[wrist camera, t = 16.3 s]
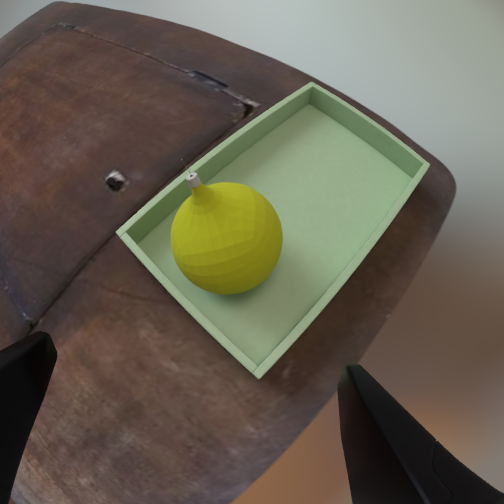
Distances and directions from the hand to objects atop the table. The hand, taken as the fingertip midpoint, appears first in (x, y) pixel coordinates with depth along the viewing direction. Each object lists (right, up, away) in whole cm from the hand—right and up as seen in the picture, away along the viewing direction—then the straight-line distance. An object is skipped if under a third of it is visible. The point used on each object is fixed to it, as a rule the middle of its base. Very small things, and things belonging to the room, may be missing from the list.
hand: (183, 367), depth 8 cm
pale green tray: (+5, +7, +17) cm, 19 cm away
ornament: (0, +3, +15) cm, 15 cm away
